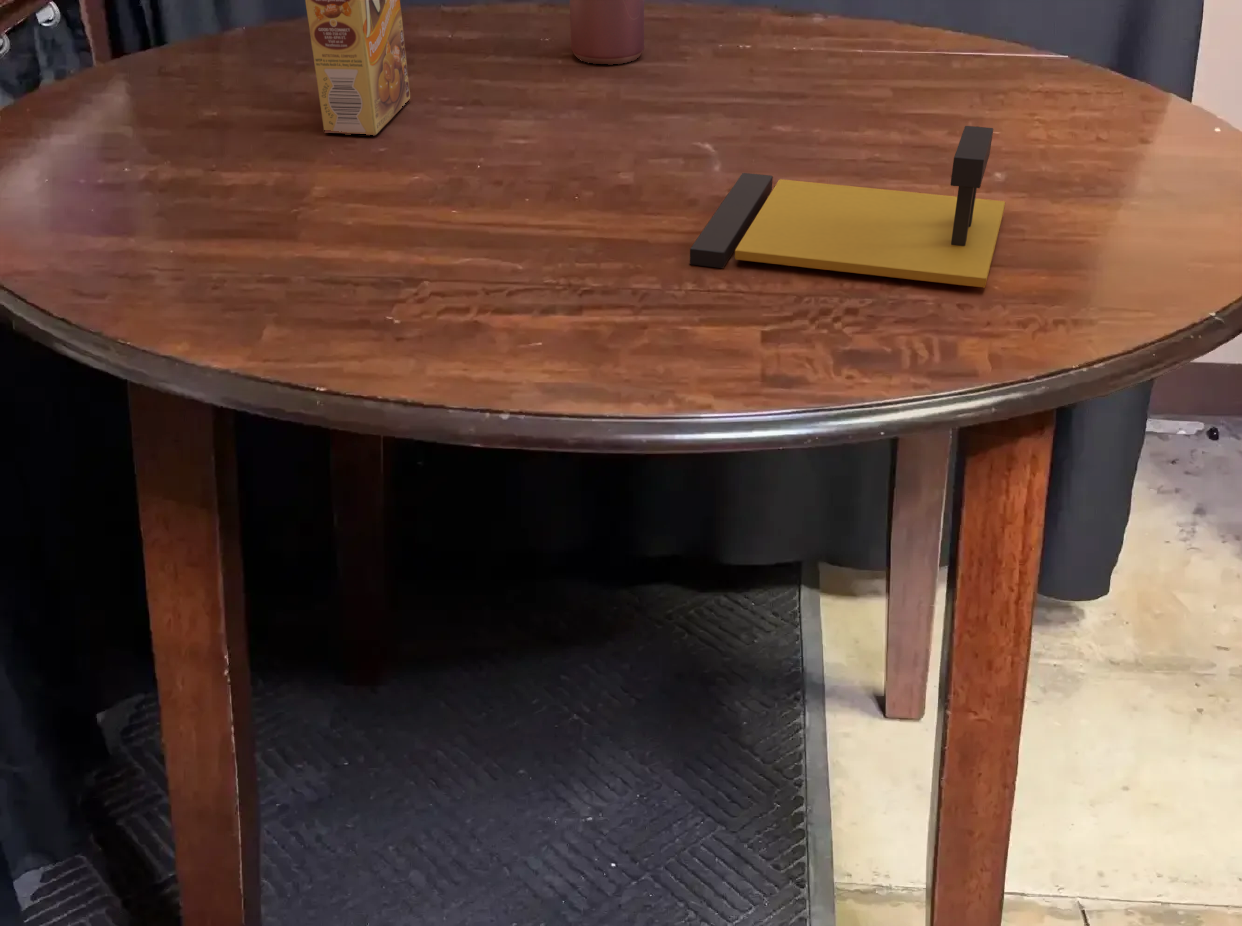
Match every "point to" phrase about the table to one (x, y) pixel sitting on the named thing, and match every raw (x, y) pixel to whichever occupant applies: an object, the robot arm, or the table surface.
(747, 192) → the bar
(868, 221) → the sign
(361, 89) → the candy box
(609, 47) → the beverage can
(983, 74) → the table surface
